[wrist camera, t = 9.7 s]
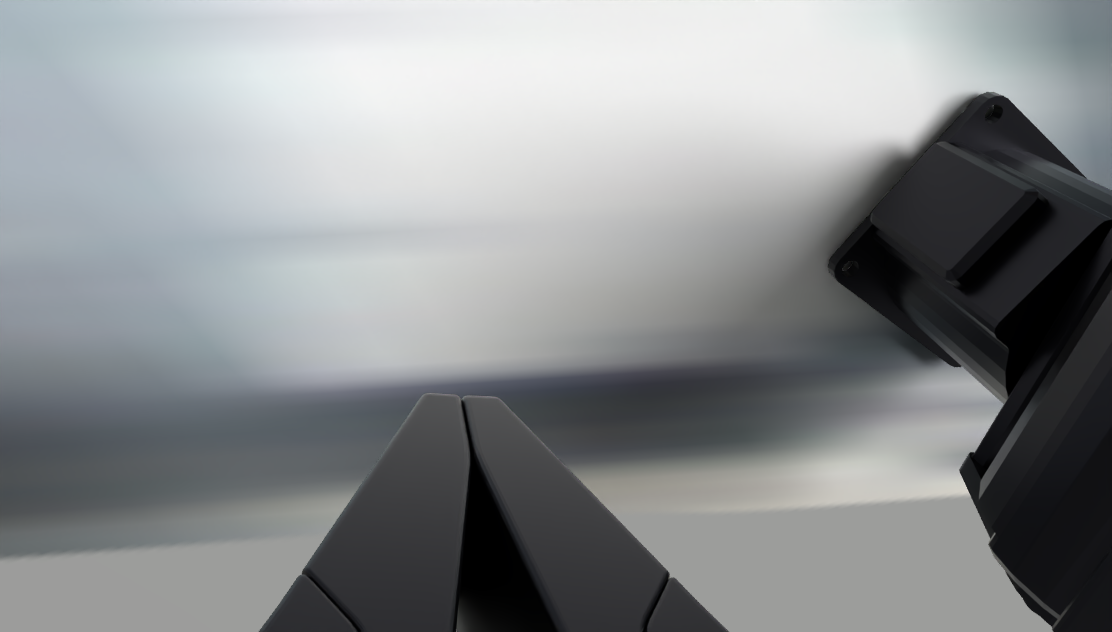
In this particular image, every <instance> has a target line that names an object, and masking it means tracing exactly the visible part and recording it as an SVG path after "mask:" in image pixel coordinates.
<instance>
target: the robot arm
mask: <svg viewBox="0 0 1112 632" xmlns="http://www.w3.org/2000/svg"><path fill="white" fill-rule="evenodd" d="M993 105H994V109H993V112H992V114H991V115H990V116H989V117H988V118H986V119H985V113H986V112H987V110H988V108H990V107H991V106H993ZM849 261H852V265H851V266H850V268H848V269H847V270H844V271H842V268H843V267H844V265H845V264H846V263H847V262H849ZM828 269H829V272H830V274H831V275H832V276H833V277H834V278H835V279H836V280H837V281H838V282H839V283H841V284H842V285H843V286H845V287H846V288H847V289H849V290H850V291H851V292H853V293H854V294H855V295H857V296H858V297H859V298H861V299H862V300H863V301H865V302H866V303H867V304H869V305H870V306H871V307H873V308H874V309H875V310H877V311H878V312H879V313H881V314H882V315H883V316H885V317H886V318H888V319H889V320H890V321H892V322H893V323H894V324H896V325H897V326H898V327H900V328H901V329H902V330H904V331H905V332H906V333H908V334H909V335H910V336H912V337H913V338H914V339H916V340H917V341H918V342H920V343H921V344H922V345H924V346H925V347H926V348H928V349H929V350H930V351H932V352H933V353H934V354H936V355H937V356H938V357H940V358H941V359H943V360H944V361H945V362H947V363H948V364H949V365H951V366H953V367H961V366H962V367H963V368H964V369H966V370H967V371H968V372H969V373H970V374H971V375H972V376H973V377H974V378H975V379H977V380H978V381H979V382H980V383H981V384H982V385H983V386H984V387H985V388H986V389H988V390H989V391H990V392H991V393H992V394H993V395H994V396H995V397H996V398H997V399H999V400H1000V401H1001V402H1002V403H1003V404H1004V405H1003V407H1002V409H1001V410H1000V412H999V413H998V415H997V417H996V418H995V420H994V422H993V423H992V425H991V427H990V428H989V430H988V432H987V433H986V435H985V437H984V438H983V440H982V441H981V443H980V445H979V446H978V448H977V450H976V451H975V453H974V452H970V453H969V455H968V456H967V458H966V459H965V461H964V463H963V464H962V466H961V468H960V469H959V470H960V474H961V476H962V478H963V480H964V482H965V484H966V487H967V489H968V491H969V493H970V495H971V497H972V500H973V502H974V504H975V506H976V508H977V510H978V513H979V515H980V517H981V519H982V521H983V524H984V526H985V528H986V530H987V532H988V534H989V536H990V541H989V547H990V549H991V551H992V553H993V556H994V558H995V559H996V560H997V561H998V563H999V564H1000V565H1001V566H1002V567H1003V568H1004V570H1005V571H1006V573H1007V576H1008V577H1009V579H1010V581H1011V582H1012V584H1013V585H1014V587H1015V589H1016V591H1017V592H1018V593H1019V594H1020V595H1021V597H1022V598H1023V600H1024V602H1025V603H1026V605H1027V606H1028V607H1029V608H1030V609H1031V610H1032V611H1033V612H1035V613H1036V614H1038V615H1039V616H1041V617H1042V618H1043V619H1044V620H1045V621H1046V622H1047V623H1048V624H1049V625H1051V626H1052V630H1053V632H1112V190H1110V189H1108V188H1105V187H1103V186H1101V185H1099V184H1097V183H1095V182H1093V181H1090V180H1088V179H1087V178H1086V177H1085V176H1084V175H1083V174H1082V173H1081V172H1080V171H1079V170H1078V169H1077V168H1076V167H1075V166H1074V165H1073V164H1072V163H1071V162H1070V161H1069V160H1068V159H1067V158H1066V157H1065V156H1064V155H1063V154H1062V153H1061V152H1060V151H1059V150H1058V149H1057V148H1056V147H1055V146H1054V145H1053V144H1052V143H1051V142H1050V141H1049V140H1048V139H1047V138H1046V137H1045V136H1044V135H1043V134H1042V133H1041V132H1040V131H1039V130H1038V129H1037V128H1036V127H1035V126H1034V125H1033V124H1032V123H1031V121H1030V120H1029V119H1028V118H1027V117H1026V116H1025V115H1024V114H1023V113H1022V112H1021V111H1020V110H1019V109H1018V108H1017V107H1016V106H1015V105H1014V104H1013V103H1012V102H1011V101H1010V100H1009V99H1008V98H1006V97H1004V96H1002V95H999V94H997V93H994V92H986V93H984V94H981V95H979V96H978V97H977V98H976V99H975V100H974V101H973V102H972V103H971V104H970V105H969V106H968V107H967V108H966V109H965V111H964V112H963V113H962V114H961V115H960V116H959V117H958V118H957V119H956V120H955V121H954V123H953V124H952V125H951V126H950V127H949V128H948V129H947V130H946V131H945V132H944V134H943V135H942V136H941V137H940V138H939V139H938V140H937V141H936V142H935V143H934V144H933V145H932V146H931V147H930V148H929V149H928V150H927V151H926V152H925V153H924V154H923V155H922V157H921V158H920V159H919V160H918V161H917V162H916V163H915V164H914V165H913V166H912V168H911V169H910V170H909V171H908V172H907V173H906V174H905V175H904V176H903V177H902V179H901V180H900V181H899V182H898V183H897V184H896V185H895V186H894V187H893V188H892V190H891V191H890V192H889V193H888V194H887V195H886V196H885V197H884V198H883V199H882V200H881V202H880V203H879V204H878V205H877V206H876V207H875V208H874V209H873V211H872V213H871V214H870V215H869V216H868V217H867V218H866V219H865V220H864V221H863V222H862V223H861V225H860V226H859V227H858V228H857V229H856V230H855V231H854V232H853V233H852V234H851V236H850V237H849V238H848V239H847V240H846V241H845V242H844V243H843V244H842V245H841V247H840V248H839V249H838V250H837V251H836V252H835V253H834V254H833V256H832V257H831V259H830V260H829V264H828ZM456 630H457V632H728V630H727V629H726V628H725V627H723V626H722V625H721V624H720V623H719V622H718V621H717V620H716V619H715V618H714V617H713V616H712V615H711V614H710V613H709V612H708V611H707V610H706V609H705V608H704V607H703V606H702V605H701V604H700V603H699V602H698V601H697V600H696V599H695V598H694V597H693V596H692V595H691V594H690V593H689V592H688V591H687V590H686V589H685V588H684V587H683V586H682V585H681V584H680V583H679V582H678V581H677V580H676V579H675V578H670V574H669V572H668V571H667V570H666V569H665V568H664V567H663V566H662V565H661V564H660V563H659V562H658V560H657V559H656V558H655V557H654V556H653V555H652V554H651V553H650V552H649V551H648V550H647V549H646V548H645V547H644V546H643V545H642V544H641V543H640V542H639V541H638V540H637V539H636V538H635V537H634V536H633V535H632V534H631V533H630V532H629V531H628V530H627V529H626V528H625V527H624V526H623V524H622V523H621V522H620V521H619V520H618V519H617V518H616V517H615V516H614V515H613V514H612V513H611V512H610V511H609V510H608V509H607V508H606V507H605V506H604V505H603V504H602V503H601V502H600V501H599V500H598V499H597V498H596V497H595V496H594V495H593V494H592V493H591V492H590V491H589V490H588V489H587V488H586V486H585V485H584V484H583V483H582V482H581V481H580V480H579V479H578V478H577V477H576V476H575V475H574V474H573V473H572V472H571V471H570V470H569V469H568V468H567V467H566V466H565V465H564V464H563V463H562V462H561V461H560V460H559V459H558V458H557V457H556V456H555V455H554V454H553V453H552V452H551V451H550V450H549V448H548V447H547V446H546V445H545V444H544V443H543V442H542V441H541V440H540V439H539V438H538V437H537V436H536V435H535V434H534V433H533V432H532V431H531V430H530V429H529V428H528V427H527V426H526V425H525V424H524V423H523V422H522V421H521V420H520V419H519V418H518V417H517V416H516V415H515V414H514V413H513V411H512V410H511V409H510V408H509V407H508V406H507V405H506V404H505V403H504V402H503V401H502V400H501V399H499V398H497V397H490V396H471V395H468V396H465V397H463V398H462V400H461V399H460V397H459V396H457V395H453V394H436V393H426V394H424V395H422V396H421V398H420V399H419V400H418V402H417V403H416V405H415V406H414V408H413V409H412V411H411V412H410V414H409V415H408V417H407V418H406V420H405V421H404V422H403V424H402V425H401V427H400V428H399V430H398V431H397V433H396V434H395V436H394V437H393V439H392V440H391V442H390V443H389V445H388V446H387V447H386V449H385V450H384V452H383V453H382V455H381V456H380V458H379V459H378V461H377V462H376V464H375V465H374V467H373V468H372V469H371V471H370V472H369V474H368V475H367V477H366V478H365V480H364V481H363V483H362V484H361V486H360V487H359V489H358V490H357V491H356V493H355V494H354V496H353V497H352V499H351V500H350V502H349V503H348V505H347V506H346V508H345V509H344V511H343V512H342V514H341V515H340V516H339V518H338V519H337V521H336V522H335V524H334V525H333V527H332V528H331V530H330V531H329V533H328V534H327V536H326V537H325V538H324V540H323V541H322V543H321V544H320V546H319V547H318V549H317V550H316V552H315V553H314V555H313V556H312V558H311V559H310V561H309V562H308V564H307V565H306V566H305V568H304V569H303V571H302V575H300V576H299V577H298V578H297V579H296V581H295V582H294V583H293V585H292V586H291V588H290V589H289V591H288V592H287V594H286V595H285V596H284V598H283V599H282V601H281V602H280V604H279V605H278V606H277V608H276V609H275V611H274V612H273V613H272V615H271V616H270V617H269V619H268V620H267V621H266V623H265V624H264V625H263V627H262V628H261V629H260V631H259V632H456Z"/></svg>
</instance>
